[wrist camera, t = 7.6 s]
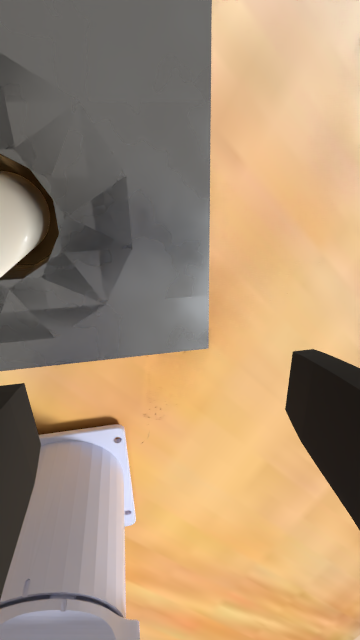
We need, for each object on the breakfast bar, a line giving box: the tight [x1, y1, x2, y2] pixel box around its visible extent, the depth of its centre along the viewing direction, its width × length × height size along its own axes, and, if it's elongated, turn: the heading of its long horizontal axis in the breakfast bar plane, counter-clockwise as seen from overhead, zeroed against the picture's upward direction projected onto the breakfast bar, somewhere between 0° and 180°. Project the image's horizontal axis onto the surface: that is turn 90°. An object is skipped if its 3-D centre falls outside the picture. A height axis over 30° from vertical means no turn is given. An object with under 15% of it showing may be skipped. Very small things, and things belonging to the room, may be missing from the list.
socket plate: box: [0, 0, 212, 371], centre depth 14 cm, size 14×18×2 cm
